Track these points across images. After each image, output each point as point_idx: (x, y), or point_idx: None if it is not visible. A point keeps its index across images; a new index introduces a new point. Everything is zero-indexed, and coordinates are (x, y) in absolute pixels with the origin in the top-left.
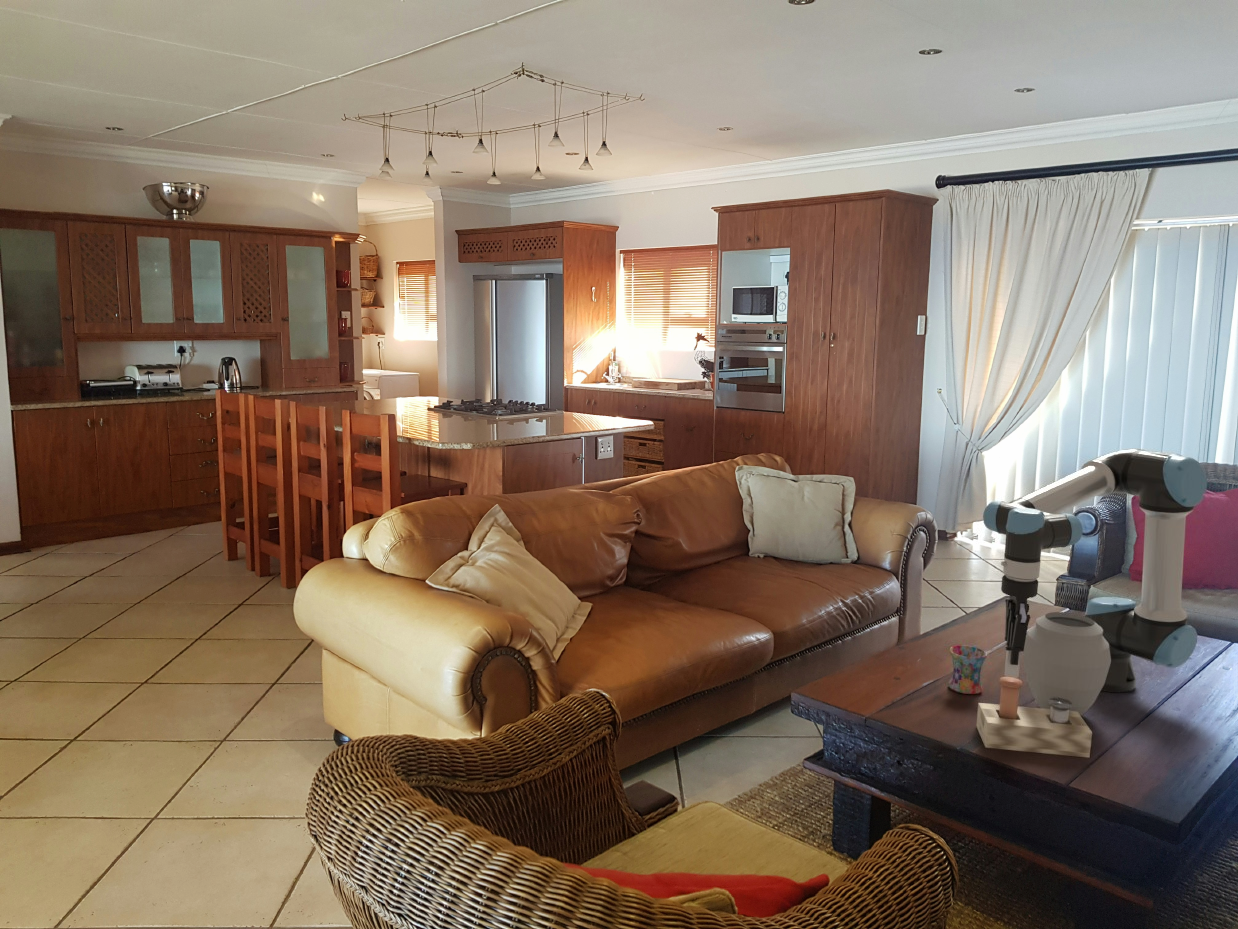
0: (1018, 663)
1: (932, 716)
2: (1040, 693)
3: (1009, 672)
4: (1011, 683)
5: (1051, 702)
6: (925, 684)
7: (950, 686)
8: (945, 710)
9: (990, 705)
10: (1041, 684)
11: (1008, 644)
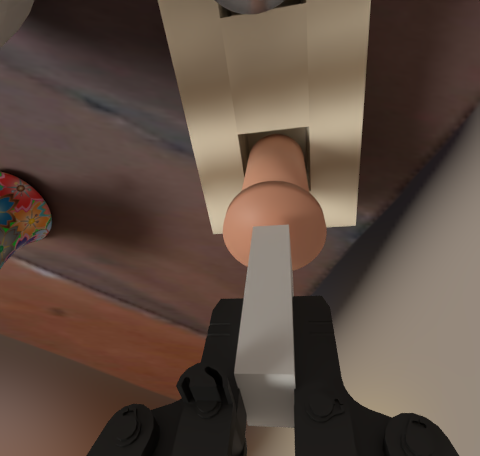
0: (291, 290)
1: (208, 272)
2: (20, 20)
3: (292, 279)
4: (308, 237)
5: (276, 3)
6: (50, 273)
7: (40, 239)
8: (164, 249)
9: (219, 206)
10: (5, 24)
11: (244, 450)
